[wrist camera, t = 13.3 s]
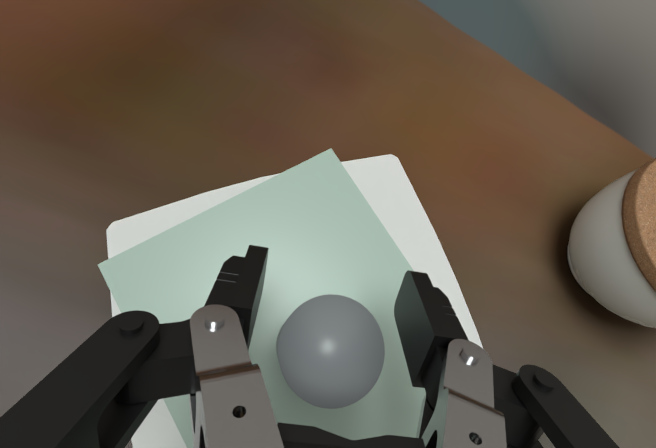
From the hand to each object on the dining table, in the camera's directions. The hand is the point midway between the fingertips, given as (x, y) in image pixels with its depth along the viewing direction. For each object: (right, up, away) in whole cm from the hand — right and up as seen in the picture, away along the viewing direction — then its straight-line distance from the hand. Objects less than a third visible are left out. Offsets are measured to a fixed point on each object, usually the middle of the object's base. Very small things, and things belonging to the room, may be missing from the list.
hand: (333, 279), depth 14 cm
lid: (-1, -5, +6) cm, 8 cm away
